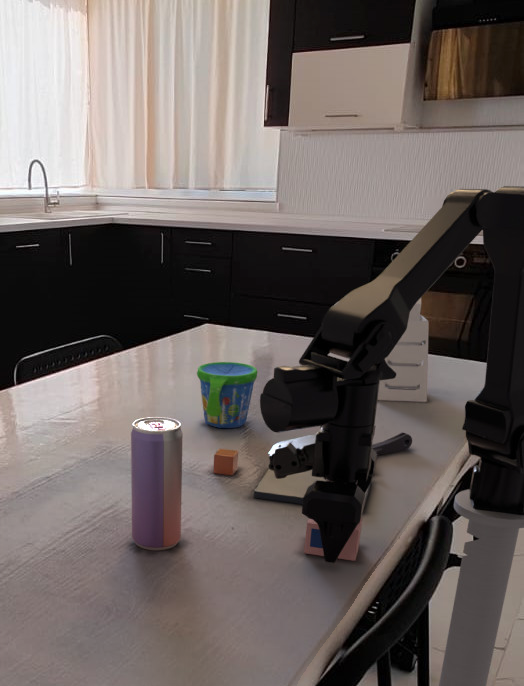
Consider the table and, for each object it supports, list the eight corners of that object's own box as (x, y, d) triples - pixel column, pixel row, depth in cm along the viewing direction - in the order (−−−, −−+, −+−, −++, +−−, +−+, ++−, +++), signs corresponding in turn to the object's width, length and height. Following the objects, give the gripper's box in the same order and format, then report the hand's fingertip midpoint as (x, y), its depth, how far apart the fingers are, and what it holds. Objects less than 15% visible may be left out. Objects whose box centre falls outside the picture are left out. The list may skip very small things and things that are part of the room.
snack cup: (235, 439, 132) (238, 381, 127) (180, 430, 136) (181, 373, 132) (267, 416, 144) (270, 362, 140) (215, 409, 149) (217, 356, 145)
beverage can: (138, 554, 91) (137, 433, 85) (127, 534, 96) (125, 418, 90) (186, 549, 92) (189, 429, 86) (173, 529, 98) (174, 414, 92)
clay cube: (237, 469, 118) (238, 450, 117) (232, 475, 116) (233, 456, 114) (218, 466, 119) (219, 448, 118) (213, 473, 116) (214, 454, 115)
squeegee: (440, 461, 122) (442, 444, 121) (365, 475, 116) (367, 457, 115) (379, 436, 134) (381, 421, 133) (309, 447, 128) (310, 431, 127)
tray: (371, 482, 114) (372, 475, 113) (362, 512, 103) (363, 505, 103) (271, 469, 118) (271, 463, 118) (253, 497, 108) (254, 491, 107)
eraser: (358, 547, 93) (362, 516, 92) (355, 561, 90) (358, 530, 88) (309, 539, 95) (312, 510, 94) (303, 553, 92) (306, 522, 90)
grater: (416, 388, 165) (430, 292, 157) (426, 401, 155) (442, 300, 147) (367, 387, 166) (378, 291, 158) (373, 399, 156) (386, 298, 148)
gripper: (292, 393, 96) (283, 507, 103) (259, 436, 80) (251, 569, 86) (383, 401, 93) (368, 519, 99) (368, 448, 77) (352, 585, 83)
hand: (335, 545), depth 92 cm, fingers open, 9 cm apart
